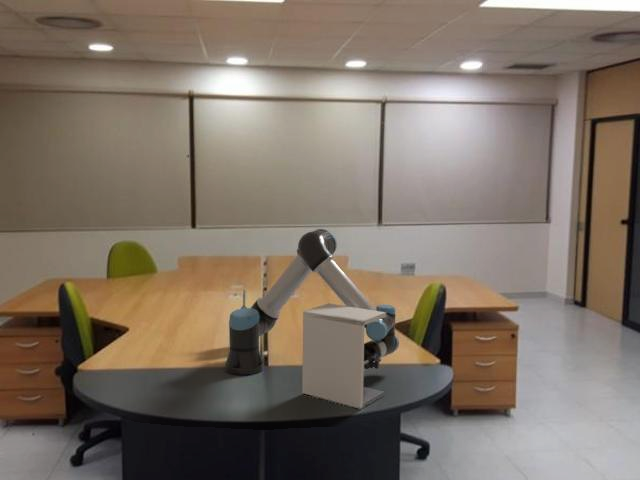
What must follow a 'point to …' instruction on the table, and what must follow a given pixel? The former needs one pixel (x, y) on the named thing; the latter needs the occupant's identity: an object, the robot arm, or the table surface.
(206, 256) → the table surface
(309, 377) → the shelf unit
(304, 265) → the robot arm
